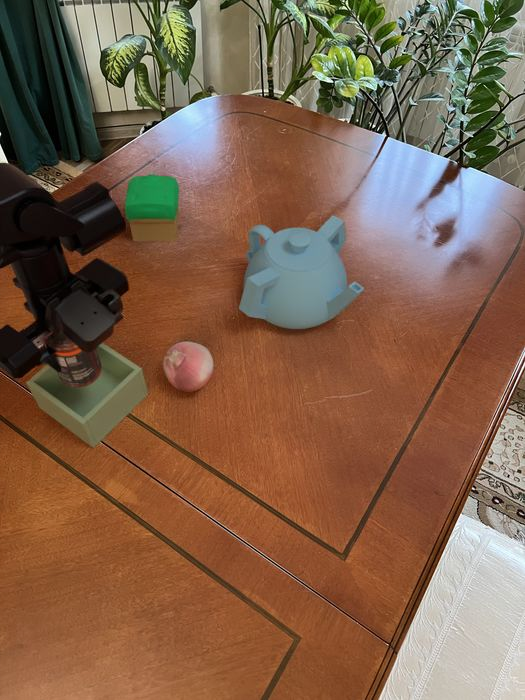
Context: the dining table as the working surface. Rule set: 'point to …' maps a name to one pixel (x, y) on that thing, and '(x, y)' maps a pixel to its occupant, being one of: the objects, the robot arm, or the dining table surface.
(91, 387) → the waste bin
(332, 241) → the teapot
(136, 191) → the cake
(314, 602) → the dining table surface
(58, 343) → the supplement bottle
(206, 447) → the dining table surface
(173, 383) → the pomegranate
